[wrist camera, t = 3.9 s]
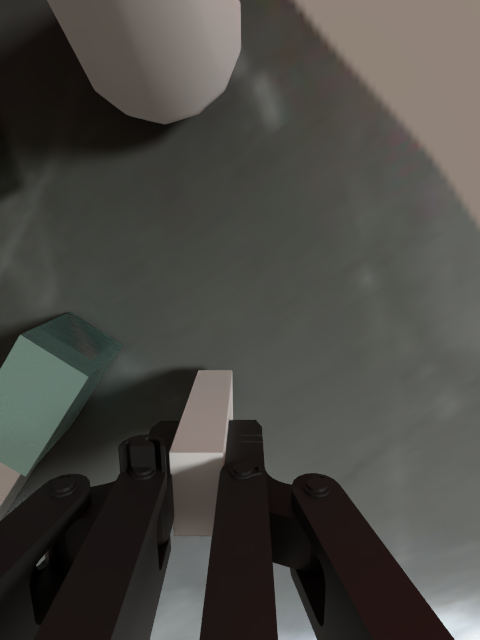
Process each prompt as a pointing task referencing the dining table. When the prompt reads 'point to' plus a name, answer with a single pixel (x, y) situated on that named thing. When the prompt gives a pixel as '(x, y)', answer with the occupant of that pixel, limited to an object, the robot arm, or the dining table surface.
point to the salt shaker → (154, 52)
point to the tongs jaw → (46, 393)
